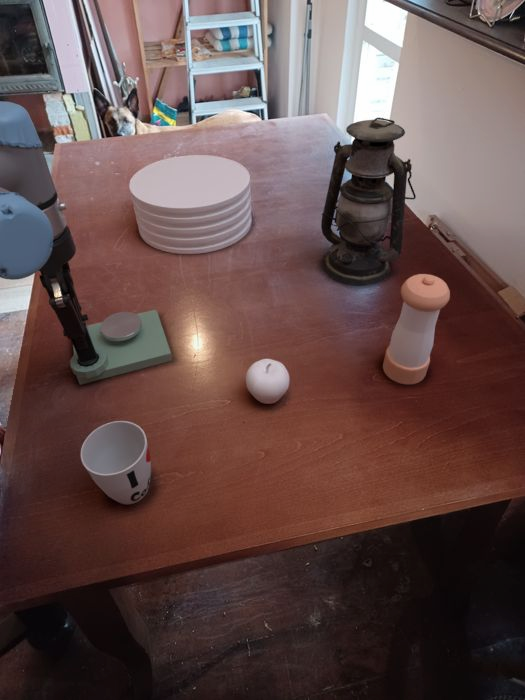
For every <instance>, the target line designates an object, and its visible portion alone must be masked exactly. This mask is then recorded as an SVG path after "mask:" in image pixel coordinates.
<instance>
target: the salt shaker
mask: <svg viewBox="0 0 525 700" xmlns="http://www.w3.org/2000/svg"><path fill="white" fill-rule="evenodd" d="M400 294H401V299H402V301H403V303H402V307H401V311H400V314H399V315H400V316H399V318H398V320H397V322H396V324H395V326H394V328H393V330H392V333H391V338H390V342H389V345H388V346H387V348H386V350H385V354H384V358H383V364H382V369H383V372H384V374H385V375H386V376H387V377H388V378H389V379H390V380H392V381H394V382H396V383H398V384H402V385H415V384H418V383H420V382H422V381H423V380H424V379H425V377H426V375H427V372H428V370H429V365H430V363H431V353H432V349H433V347H434V341H435V331H436V325H437V322H438V318H439V315H440V312H441V309H443V308H444V307H445V306H447V304H448V303H449V301H450V300H451V290H450V288H449V286H448V284H447V282H445V281H444V280H443V278H440V277H438V276H436V275H433V274H427V273H418V274H414V275H412V276H410V277H408V278H407V279H406V280H405V281H404V282H403V284H402V285H401V287H400Z"/></svg>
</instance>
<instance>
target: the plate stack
mask: <svg viewBox="0 0 525 700" xmlns="http://www.w3.org/2000/svg"><path fill="white" fill-rule="evenodd" d="M128 187H129V193H130V195H131V201H132V204H133V210H134V211H133V212H134V214H135V220H136V224H137V228H138V233H139V235H140V237H141V239H142V240H143V241H144V243H146V244H147V245H148V246H151V247H152V248H154V249H157V250H159V251H163V252H166V253H172V254H177V255H178V254H179V255H197V254H198V255H199V254H206V253H211V252H215V251H219V250H223V249H225V248H228V247H230V246H232V245H234V244H236V243H237V242H239V241H241V240H242V239H244V237H245V236H246V235H247V234H248V233H249V232H250V230H251V227H252V219H253V218H252V196H251V192H252V191H251V190H252V189H251V175H250V172H249V171H248V169H247V168H246V167H245V166H244V165H242V164H241V163H239V162H237V161H236V160H232V159H230V158H227V157H222V156H217V155H209V154H189V155H188V154H187V155H180V156H172V157H168V158H164V159H161V160H158V161H154V162H152V163H150V164H147V165H146V166H143V167H142V168H141V169H139V170H138V171H136V172H135V173H134V175H132V177H131V178H130V180H129V185H128Z"/></svg>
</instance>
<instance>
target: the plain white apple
mask: <svg viewBox="0 0 525 700" xmlns="http://www.w3.org/2000/svg"><path fill="white" fill-rule="evenodd" d="M290 381H291V380H290V374H289V370H288V369H287V368H286V366H285V364H283V363H282V362H281V361H278V360H275V359H271V358H262V359H259V360H257V361H255V362H253V363H252V364H251V365H250V366H249V368H248V370H247V371H246V373H245V385H246V388H247V390H248V392H249V393H250V394H251V396H253V398H254V399H255V400H257V401H258V402H260V403H261V404H266V405H271V404H275V403H277V402H278V401H280V400H281V399H282V397H283V396H284V395H285V394H286V393H287V391H288V389H289V387H290Z"/></svg>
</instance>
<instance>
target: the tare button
mask: <svg viewBox="0 0 525 700" xmlns="http://www.w3.org/2000/svg"><path fill="white" fill-rule="evenodd" d="M97 361H98V357H97V355H96V358H92V359H88V360H84V361H81V362H80V360H79V363H80V365H81V366H84V367H88V366H92V365H94V364H95V363H97Z"/></svg>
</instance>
